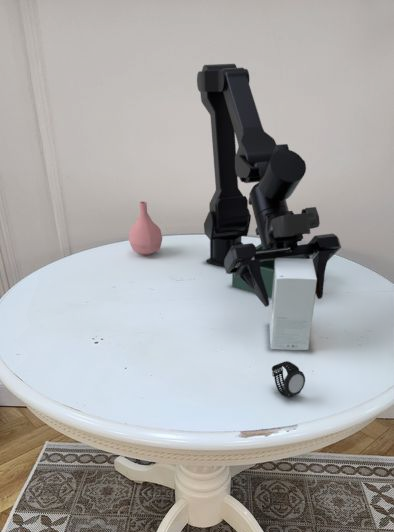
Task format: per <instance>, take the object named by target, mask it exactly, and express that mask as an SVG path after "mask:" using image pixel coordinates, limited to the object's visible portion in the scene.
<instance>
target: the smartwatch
mask: <svg viewBox="0 0 394 532" xmlns="http://www.w3.org/2000/svg"><path fill="white" fill-rule="evenodd" d="M283 368H284V369H285V371H286V376H285V378H284V369H283ZM271 375H272V377H274V383H275V386H276V388H277V391H278V392H279V394H280V395H281V396H283V397H285V398H288V399H289V398H293V397H295V396H297V395H299V394H301V391H302V390H303V389H304V386H305V384H306V376H305V374H304V372H303V371H301V370H300V368H299V366H297V365H296V364H294V363H292V362H291V361H289V360H286V361H282V362H280V363H277V364H274V365H273V366H272V367H271Z"/></svg>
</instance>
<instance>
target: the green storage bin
mask: <svg viewBox="0 0 394 532" xmlns="http://www.w3.org/2000/svg"><path fill="white" fill-rule="evenodd" d="M255 247H256V250H262V249H263V248H262V244H261V243H260V244H258V245H255ZM293 258H298V259H306V258H305V256H301V257H293ZM274 263H275V260H270V261H262V262H260V270H261V275H262V278H263V281H264V285H265V288H266V291H267V294H268V298H271V299H272V288H273V276H274ZM234 274H235V273H234ZM234 274H231V275H232V276H231V277H232V278H231V287H232V288H234V289H235V288H236V289H239V290H242V291H247V292H249V293H253V294H255V293H254V292H253V291H252V289H251V288H250V287H249V286H248V285H247V284H246V283H245V282H244V281H243V280H242V279H241V278H239V277H238V278H236V277H235V276H234Z"/></svg>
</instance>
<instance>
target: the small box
mask: <svg viewBox="0 0 394 532" xmlns="http://www.w3.org/2000/svg"><path fill="white" fill-rule="evenodd" d="M316 284H317V277H316V272H315V268H314V263H313V259H298V258H275V263H274V276H273V288H272V298H271V305H270V317H269V342H270V350H283V351H285V350H288V351H309V350H310V344H311V343H310V341H311V332H312V324H313V316H314V308H315V298H316V294H315V292H316Z"/></svg>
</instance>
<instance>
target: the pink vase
mask: <svg viewBox="0 0 394 532" xmlns="http://www.w3.org/2000/svg"><path fill="white" fill-rule="evenodd" d="M128 242H129V244H130V247H131V250H132V251H133V252H134V253H137V254H142V256H150V255H152V254H153V253H156V252H158V251H159V250H161V246H162V242H163V235H162V230H161V228H160V227H159V226H158V224H157V223H155V222H154V221H153V220H152V218H151V216H150V215H149V213H148V203H147V201H140V202H139V215H138V217H137V220H136V222H135V223H134V224H133V226H132V227H131V228H130V229H129V235H128Z"/></svg>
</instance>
